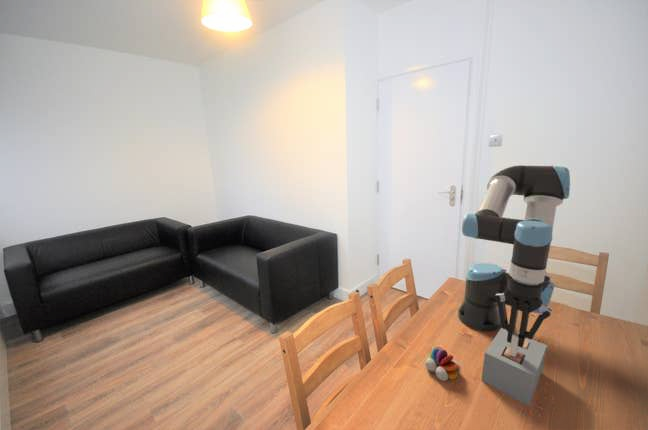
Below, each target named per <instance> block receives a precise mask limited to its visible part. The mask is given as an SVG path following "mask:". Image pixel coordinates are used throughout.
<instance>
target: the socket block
mask: <svg viewBox="0 0 648 430" xmlns="http://www.w3.org/2000/svg"><path fill="white" fill-rule="evenodd" d="M507 336H508V331H507V330H505V329H502V328H501V327H500V328H499V329H498V332H497V334H496V335H495V336H494V338H493V340H492V341H491V342H490V344H489V345H488V347H487V349H486V350H485V352H484V358H483V366H482V371H481V372H482V373H481V378H480V379H481V380H480V381H481V382H483V383H485V384H486V385H489V386H490V387H493V388H495V389H497V390H499V391H500V392H502V393H504V394H505V395H507V396H509V397H511V398H513V399H514V400H517V401H519V402H521V403H523V404H524V405H526V406H527V407H530V406H531V403H532V401H533V398H534V395H535V392H536V389H537V387H538V384H539V382H540V378H541V377H542V376H541V375H542V373H543V368H544V363H545V359H546V358H545V357H546V353H547V347H548V344H546V343H545V344H544V343H542V342H539V341H537V340H534V339H533V338H532V339H528V338H525V341H524V345H523V347H522V348H521V347H519V348H518V352H520V353H522V354H523V356H522V362H521V364H519V363H516V362H514V361H512V360H510V359H508V358H506V357H503V356H504V353H505V351H506V349H507V347H508V348H510V346H511V343H509V342H507Z"/></svg>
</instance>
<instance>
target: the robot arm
mask: <svg viewBox="0 0 648 430" xmlns="http://www.w3.org/2000/svg"><path fill="white" fill-rule="evenodd" d="M570 187H571V175H570V170H569V169H568V168H567V167H565V166H555V165H513V166H510V167H507V168H503V169H501V170H500V171H497V173H495V174H494V175H493V176H491V178H490V179H489V180H488V183H487V185H486V192H485V194H484V197H483V198H482V200H481V202H480V204H479V206H478V208H477V210H476V212H475V213H466V214H465V215H464V217H463V218H462V225H461V232H462V235H463V236H464V237H468V238H472V239H473V238H474V239H476V240H484V241H491V242H496V243H497V242H498V243H503V244H509V245H512V255H511V259H510V264H509V272H504V270H503V267H501V266H500V265H498V264H494V263H490V262H480V263H474V264H471V265H470V266H469V267H468V268H467V272H466V276H465V287H464V288H465V289H464V290H465V291H464V298H463V300H462V302H461V304H460V305H459V307H458V311H457V317H458V319H459V321H460V322H462V324H464V325H465V326H467V327H470V328H472V329H474V330H478V331H482V332H495V331H497V330H500V329H501V328H502V329H505V330H507V331H508V336H507V342H509V343H511V346H510V352H509V355H511V356H513V357H516V355H517V353H518V348H519V347H521V348H522V347H523V345H524V341H525V338H528V339H532V340H533V339H534V337H535V335H536V333H537V331H538V330H539V328H540V326H541V325H542V323H543V321H544V320H546V319H547V318H549V317H550V316H551V314H552V308H549V304H550V302H551V299H552V296H553V293H554V289H555V285H556V284H555V283H554V282H552V281H551V276H550V275H549V273H548V272H547V265H548V260H549V259H548V258H549V254H550V249H551V243H552V241H553V231H554V230H553V229H554V224H555V217H556V211H557V207H558V206H560V205H562V204H563V201H564V200H566V199H568V198H569V197H570ZM513 195H515V196H522V197H523V201H524V203H525V204H526V210H525V215H524V219H516V218H509V217H503V216H504V213H505V210H506V208H507V206H508V203H509V200H510V198H511V197H512V196H513ZM507 306H509V307H511V308H510V317H509V321H508V313H507ZM519 311H520V312H521V320H520V325H519V326H520V327H519V331H517V330H516V328H517V327H516V326H517V320H518V314H519ZM530 313H534V314H538V316H537V318H536V320H535V321H534V323H533V324H532V325H531V328H530V330H529V331H528V330H527V329H528V325H529V318H530Z"/></svg>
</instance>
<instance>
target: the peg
mask: <svg viewBox="0 0 648 430" xmlns="http://www.w3.org/2000/svg"><path fill="white" fill-rule="evenodd" d="M509 352H510V348H508V347H507V349H506V351H505V353H504V356H503V357H506V358H508V359H510V360H512V361H514V362H516V363H519V364H521V362H522V356H523V354H522V353H520V352H518V353H517V355H516V357H513V356H511V355H509Z"/></svg>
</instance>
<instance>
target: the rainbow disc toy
mask: <svg viewBox="0 0 648 430" xmlns="http://www.w3.org/2000/svg"><path fill="white" fill-rule="evenodd" d="M448 354H449V353H448V351H447V350H446V349H444V348H441V349H440V348H439V347H438V348H435V347H434V348H432V349H431V352H430V354H429V355H428V358H426V359H425V362H424V363H425V367H426V369H427V370H428V371H430V372H434V373H435V375H436V378H438V380H440V381H443V382H446V381H448V379H451V380H456V379H457V377H458V375H459V374H460V373H461V371H462V367H461V364H460V363H459V362H458V361H456V360H454V356H453V355H451V354H450V355H448Z"/></svg>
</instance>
